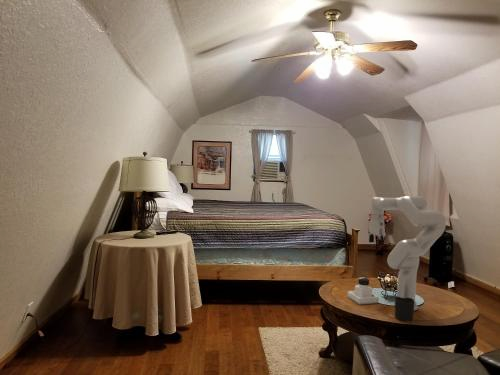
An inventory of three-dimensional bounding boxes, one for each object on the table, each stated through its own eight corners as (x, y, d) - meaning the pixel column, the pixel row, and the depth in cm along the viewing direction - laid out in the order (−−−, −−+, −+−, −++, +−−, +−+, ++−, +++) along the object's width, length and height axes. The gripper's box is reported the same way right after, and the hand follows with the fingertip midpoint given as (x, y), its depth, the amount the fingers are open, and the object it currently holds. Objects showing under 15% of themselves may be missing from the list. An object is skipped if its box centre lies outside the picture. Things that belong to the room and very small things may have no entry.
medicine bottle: (371, 300, 224) (372, 279, 224) (361, 301, 222) (362, 280, 221) (364, 296, 231) (365, 276, 230) (354, 297, 229) (355, 277, 228)
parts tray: (378, 302, 222) (378, 297, 222) (358, 304, 219) (359, 298, 219) (366, 295, 234) (366, 290, 234) (347, 297, 231) (347, 291, 231)
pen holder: (406, 323, 194) (407, 303, 193) (390, 317, 201) (391, 298, 201) (417, 319, 199) (418, 300, 199) (400, 313, 207) (401, 295, 206)
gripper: (390, 218, 234) (389, 246, 234) (374, 214, 250) (373, 241, 251) (380, 218, 231) (378, 246, 232) (364, 215, 248) (362, 241, 249)
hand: (375, 243), depth 242 cm, fingers open, 9 cm apart
